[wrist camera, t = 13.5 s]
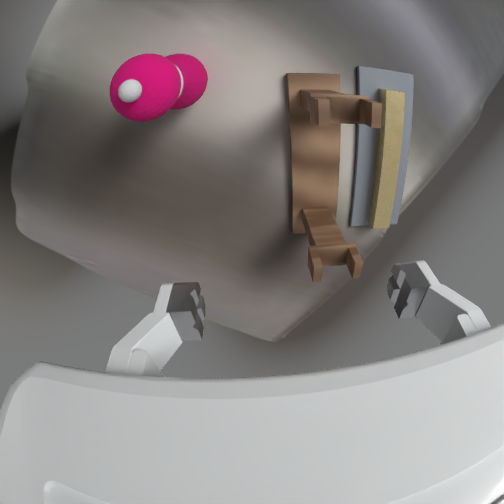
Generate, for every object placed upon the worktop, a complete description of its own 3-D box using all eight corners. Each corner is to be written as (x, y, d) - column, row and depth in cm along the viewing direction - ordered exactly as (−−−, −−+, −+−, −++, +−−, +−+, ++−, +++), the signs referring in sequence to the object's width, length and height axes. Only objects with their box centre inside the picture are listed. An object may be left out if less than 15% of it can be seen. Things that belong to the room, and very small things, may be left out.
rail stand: (286, 73, 31) (311, 74, 19) (337, 74, 31) (387, 80, 19) (292, 230, 46) (307, 296, 34) (332, 227, 46) (360, 290, 34)
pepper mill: (222, 76, 31) (197, 80, 15) (186, 114, 34) (134, 158, 18) (183, 46, 28) (121, 26, 12) (149, 85, 31) (67, 107, 15)
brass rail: (378, 88, 31) (386, 89, 29) (396, 90, 31) (404, 92, 29) (367, 220, 44) (373, 228, 42) (383, 219, 44) (388, 227, 42)
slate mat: (357, 66, 30) (359, 66, 29) (410, 74, 29) (413, 74, 29) (349, 223, 45) (351, 226, 45) (395, 221, 45) (396, 223, 44)
